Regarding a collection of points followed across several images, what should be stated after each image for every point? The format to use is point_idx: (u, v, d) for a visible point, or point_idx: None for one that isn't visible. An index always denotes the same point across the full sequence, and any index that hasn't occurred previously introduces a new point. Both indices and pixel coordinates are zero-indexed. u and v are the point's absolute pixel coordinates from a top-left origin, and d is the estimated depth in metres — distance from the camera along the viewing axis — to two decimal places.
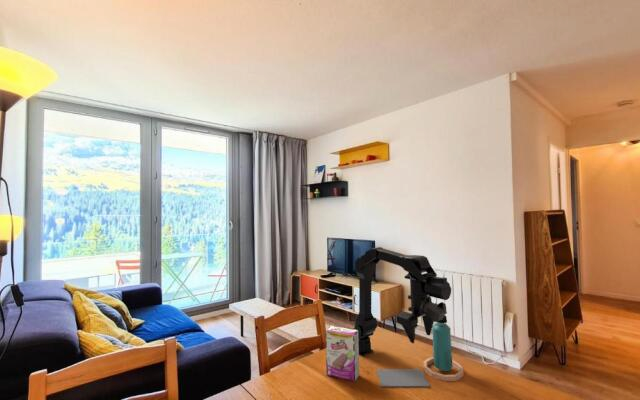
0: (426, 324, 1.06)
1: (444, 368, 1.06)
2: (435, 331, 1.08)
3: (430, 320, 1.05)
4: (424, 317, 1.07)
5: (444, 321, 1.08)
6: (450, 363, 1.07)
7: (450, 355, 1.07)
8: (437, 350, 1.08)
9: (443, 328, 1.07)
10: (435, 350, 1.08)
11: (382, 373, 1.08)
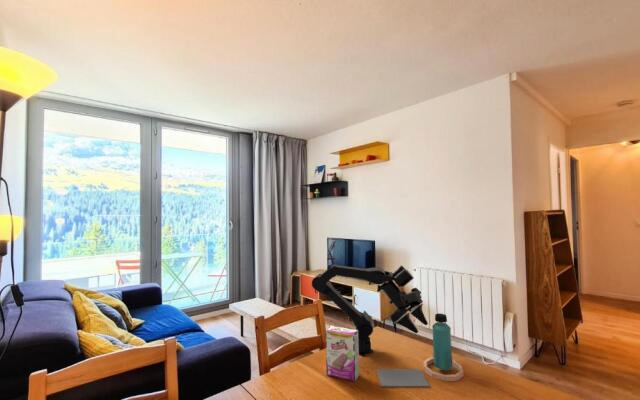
0: (419, 317, 1.20)
1: (444, 367, 1.07)
2: (435, 330, 1.08)
3: (419, 311, 1.20)
4: (414, 314, 1.21)
5: (444, 320, 1.08)
6: (450, 363, 1.07)
7: (450, 354, 1.07)
8: (437, 350, 1.08)
9: (443, 327, 1.08)
10: (435, 349, 1.09)
11: (382, 373, 1.08)
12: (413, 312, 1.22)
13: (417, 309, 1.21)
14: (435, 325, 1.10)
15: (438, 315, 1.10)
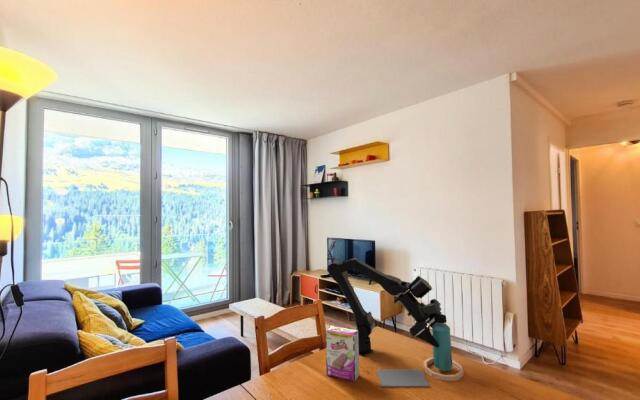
0: None
1: (444, 368, 1.06)
2: (435, 331, 1.08)
3: None
4: None
5: (444, 321, 1.08)
6: (450, 363, 1.07)
7: (450, 355, 1.07)
8: (437, 350, 1.08)
9: (443, 328, 1.07)
10: (435, 350, 1.08)
11: (382, 373, 1.08)
12: (432, 324, 1.17)
13: None
14: (435, 326, 1.09)
15: (437, 316, 1.09)
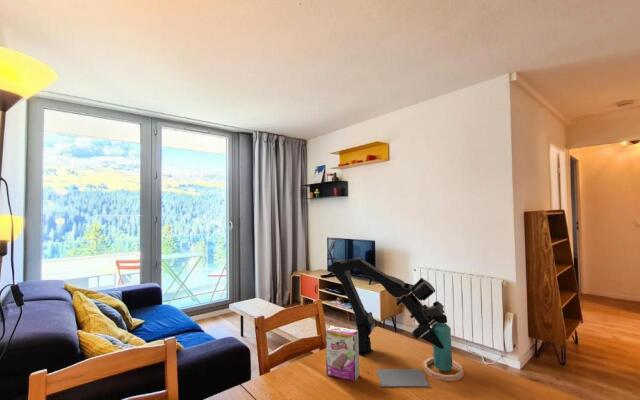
0: None
1: (444, 368, 1.06)
2: (436, 331, 1.08)
3: None
4: None
5: (444, 321, 1.08)
6: (450, 363, 1.07)
7: (450, 355, 1.07)
8: (437, 350, 1.08)
9: (443, 328, 1.07)
10: (435, 350, 1.08)
11: (382, 373, 1.08)
12: None
13: None
14: (435, 326, 1.09)
15: (438, 316, 1.09)
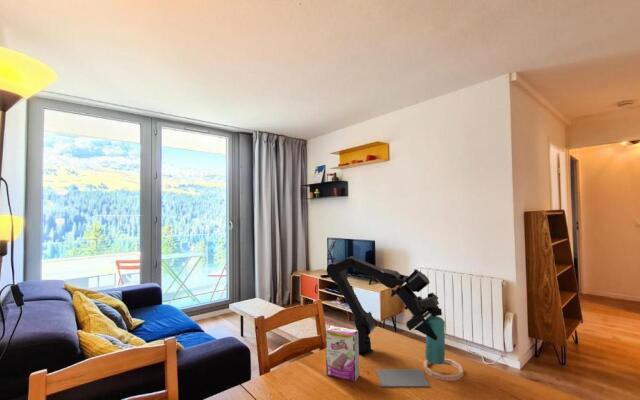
0: None
1: (436, 361, 1.05)
2: (430, 323, 1.07)
3: None
4: None
5: (439, 313, 1.08)
6: (442, 357, 1.06)
7: (443, 349, 1.06)
8: (430, 343, 1.07)
9: (438, 320, 1.07)
10: (428, 343, 1.07)
11: (382, 373, 1.08)
12: (427, 319, 1.15)
13: None
14: (430, 318, 1.09)
15: (433, 308, 1.09)
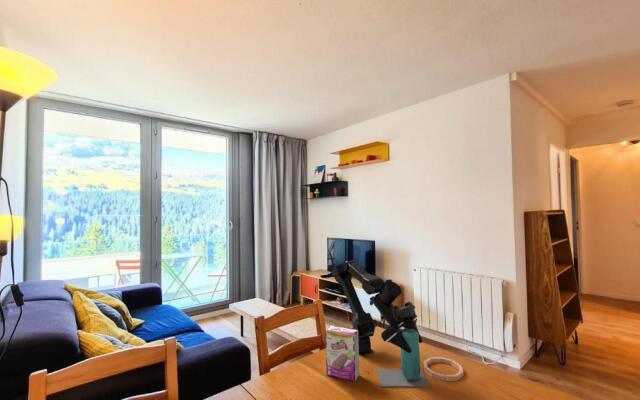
0: None
1: (411, 376, 1.01)
2: (403, 337, 1.03)
3: None
4: None
5: (412, 327, 1.02)
6: (418, 371, 1.02)
7: (418, 362, 1.02)
8: (404, 358, 1.02)
9: (411, 334, 1.02)
10: (402, 357, 1.03)
11: (382, 373, 1.08)
12: None
13: None
14: (403, 332, 1.04)
15: (406, 321, 1.04)
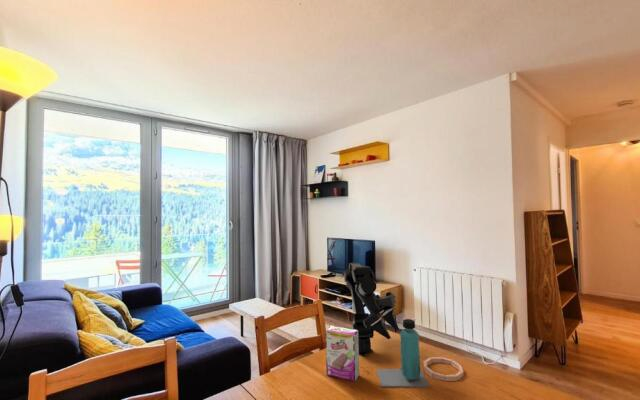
0: (390, 322, 1.17)
1: (411, 376, 1.01)
2: (403, 337, 1.03)
3: (391, 316, 1.17)
4: (386, 318, 1.18)
5: (412, 327, 1.02)
6: (418, 371, 1.02)
7: (418, 362, 1.02)
8: (404, 358, 1.02)
9: (411, 334, 1.02)
10: (402, 357, 1.03)
11: (382, 373, 1.08)
12: (385, 316, 1.18)
13: (389, 313, 1.17)
14: (403, 332, 1.04)
15: (406, 321, 1.04)
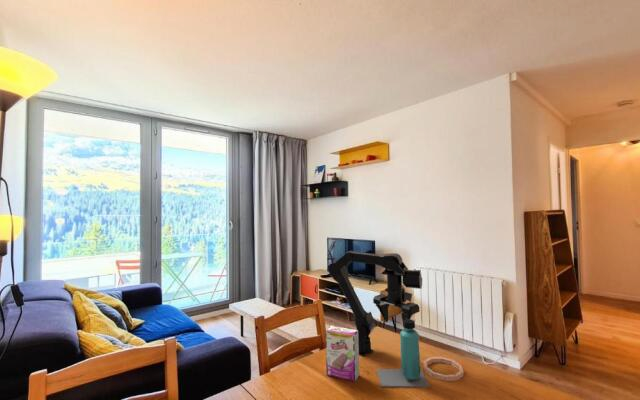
0: (385, 313, 1.22)
1: (411, 376, 1.01)
2: (403, 337, 1.03)
3: (387, 308, 1.23)
4: (383, 308, 1.22)
5: (412, 327, 1.02)
6: (418, 371, 1.02)
7: (418, 362, 1.02)
8: (404, 358, 1.02)
9: (411, 334, 1.02)
10: (402, 357, 1.03)
11: (382, 373, 1.08)
12: (382, 306, 1.22)
13: (386, 305, 1.23)
14: (403, 332, 1.04)
15: (406, 321, 1.04)
